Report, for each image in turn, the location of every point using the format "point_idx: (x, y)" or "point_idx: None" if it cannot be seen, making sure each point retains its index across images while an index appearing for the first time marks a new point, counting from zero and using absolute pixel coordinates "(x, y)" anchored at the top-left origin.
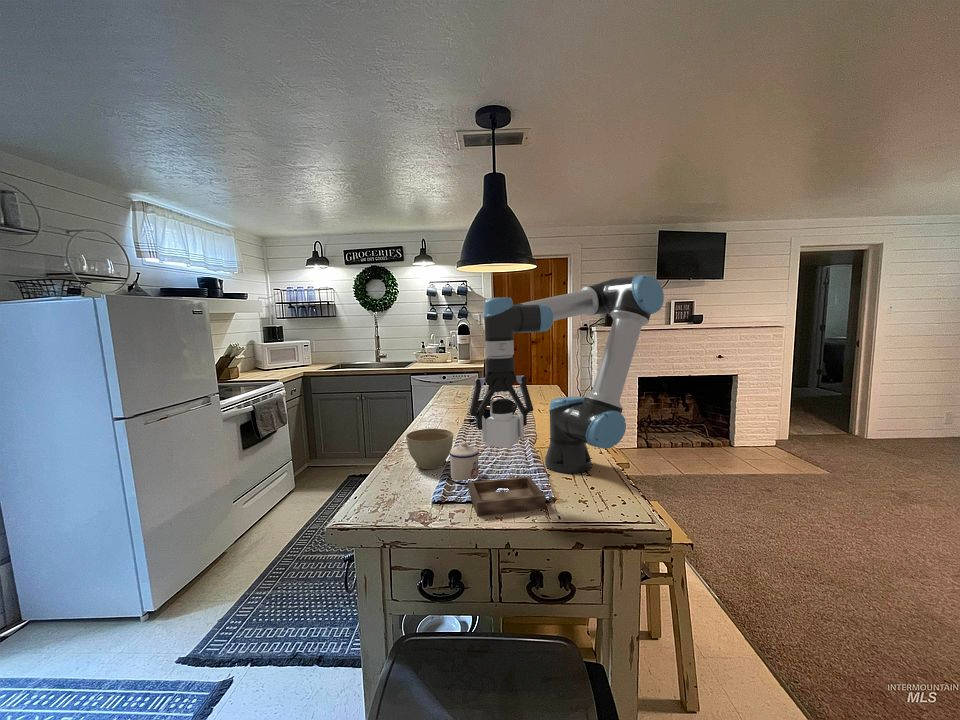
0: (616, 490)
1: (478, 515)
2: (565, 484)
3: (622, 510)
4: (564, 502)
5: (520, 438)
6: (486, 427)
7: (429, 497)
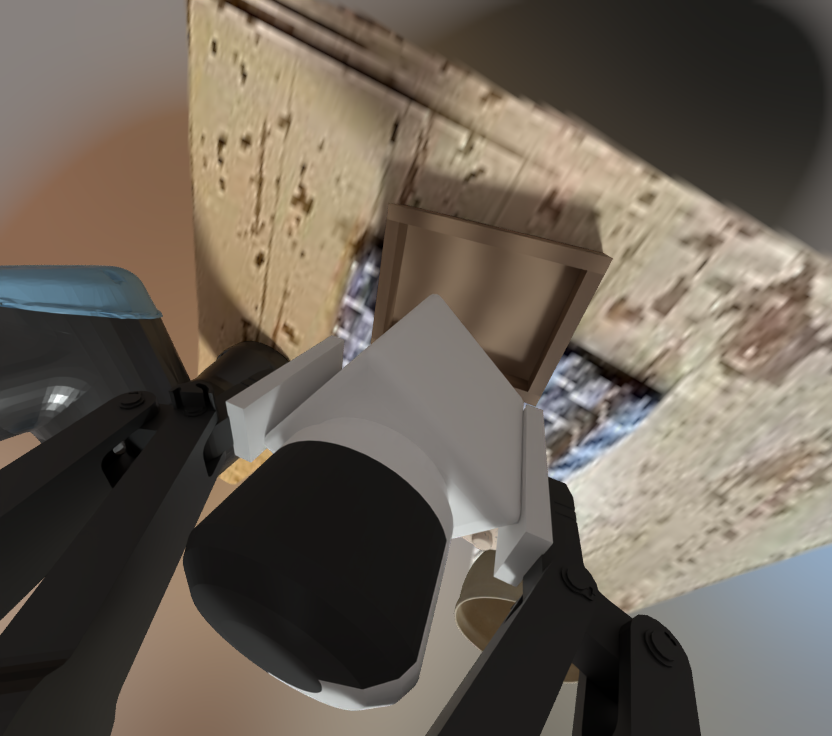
0: (217, 220)
1: (599, 252)
2: (304, 308)
3: (236, 99)
4: (344, 217)
5: (343, 349)
6: (515, 464)
7: (645, 429)
